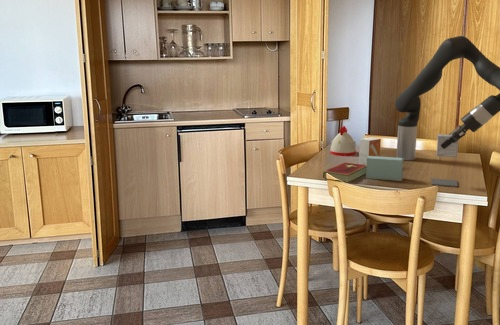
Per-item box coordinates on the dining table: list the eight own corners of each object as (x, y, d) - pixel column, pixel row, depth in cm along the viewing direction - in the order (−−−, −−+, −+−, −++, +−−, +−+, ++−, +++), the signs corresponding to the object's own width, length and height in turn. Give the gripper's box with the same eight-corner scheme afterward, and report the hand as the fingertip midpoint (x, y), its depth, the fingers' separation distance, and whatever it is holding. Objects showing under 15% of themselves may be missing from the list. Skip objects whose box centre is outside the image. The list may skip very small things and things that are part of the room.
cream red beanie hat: (325, 154, 260) (326, 126, 257) (336, 149, 272) (337, 123, 268) (349, 157, 253) (350, 129, 249) (359, 152, 264) (360, 125, 260)
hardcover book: (322, 179, 210) (323, 170, 210) (343, 170, 227) (344, 161, 226) (347, 183, 204) (348, 174, 203) (367, 173, 220) (368, 164, 219)
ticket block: (367, 175, 215) (368, 155, 213) (402, 178, 210) (403, 157, 208) (366, 178, 210) (366, 157, 208) (401, 180, 205) (403, 160, 203)
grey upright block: (456, 155, 199) (458, 134, 197) (457, 157, 195) (458, 136, 193) (436, 154, 201) (437, 134, 199) (436, 156, 197) (437, 135, 195)
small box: (368, 166, 231) (369, 140, 228) (358, 164, 236) (359, 138, 233) (379, 164, 235) (381, 138, 232) (370, 162, 240) (371, 136, 237)
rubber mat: (431, 179, 206) (431, 178, 206) (456, 181, 203) (456, 180, 203) (431, 185, 198) (431, 183, 198) (457, 187, 195) (457, 185, 195)
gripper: (469, 109, 198) (435, 136, 205) (471, 113, 185) (435, 142, 192) (482, 122, 197) (448, 149, 204) (485, 127, 184) (448, 156, 191)
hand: (442, 145), depth 198 cm, fingers closed on grey upright block, 4 cm apart
